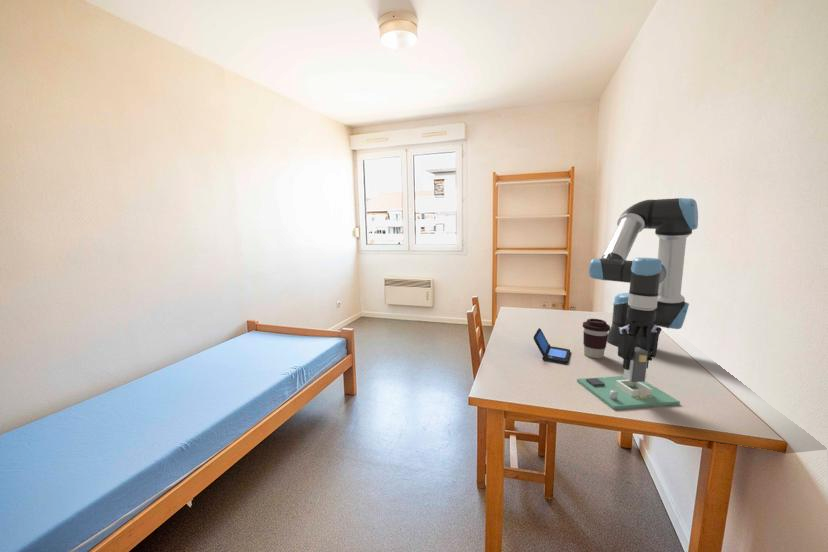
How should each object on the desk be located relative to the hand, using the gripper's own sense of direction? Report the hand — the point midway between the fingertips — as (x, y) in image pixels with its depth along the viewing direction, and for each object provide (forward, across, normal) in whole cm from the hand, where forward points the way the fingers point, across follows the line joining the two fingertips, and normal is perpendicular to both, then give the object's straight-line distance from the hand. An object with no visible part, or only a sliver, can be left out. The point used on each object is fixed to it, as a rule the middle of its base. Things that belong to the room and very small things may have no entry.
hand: (634, 378), depth 109 cm
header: (+4, 0, 0) cm, 4 cm away
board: (+5, +2, -1) cm, 6 cm away
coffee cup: (+5, -8, -31) cm, 33 cm away
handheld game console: (+6, +9, -34) cm, 36 cm away
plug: (0, 0, 0) cm, 0 cm away
